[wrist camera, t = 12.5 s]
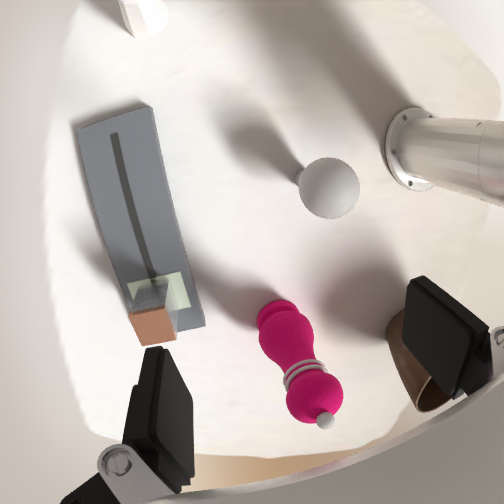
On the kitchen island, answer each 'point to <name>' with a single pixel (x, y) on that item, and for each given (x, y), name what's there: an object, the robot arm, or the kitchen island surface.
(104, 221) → the fader panel
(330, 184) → the lightbulb
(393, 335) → the plant pot
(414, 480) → the robot arm
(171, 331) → the fader knob
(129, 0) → the pepper shaker
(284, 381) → the pepper mill
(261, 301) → the kitchen island surface
